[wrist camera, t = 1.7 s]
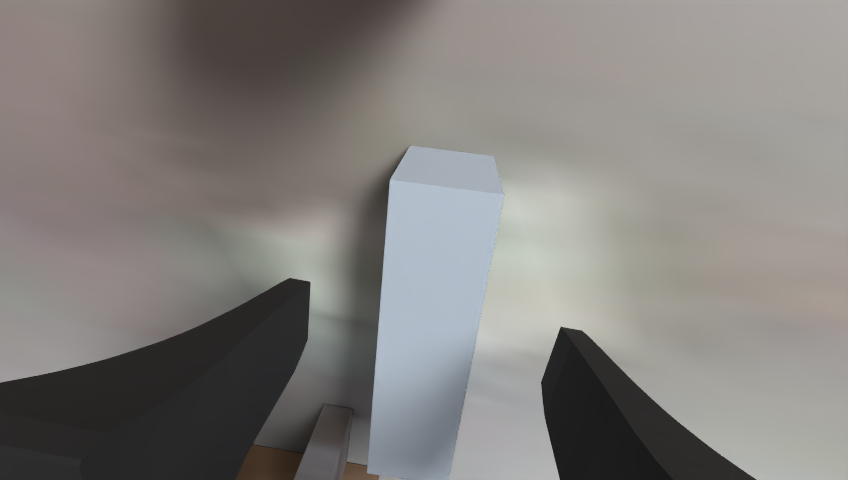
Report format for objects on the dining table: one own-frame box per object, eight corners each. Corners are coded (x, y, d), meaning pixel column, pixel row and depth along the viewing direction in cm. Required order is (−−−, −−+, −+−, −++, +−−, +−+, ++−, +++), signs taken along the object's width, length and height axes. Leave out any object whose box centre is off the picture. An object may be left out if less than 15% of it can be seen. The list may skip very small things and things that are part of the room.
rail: (493, 155, 16) (504, 194, 12) (451, 392, 21) (447, 485, 17) (410, 144, 16) (389, 180, 12) (387, 383, 21) (366, 473, 17)
